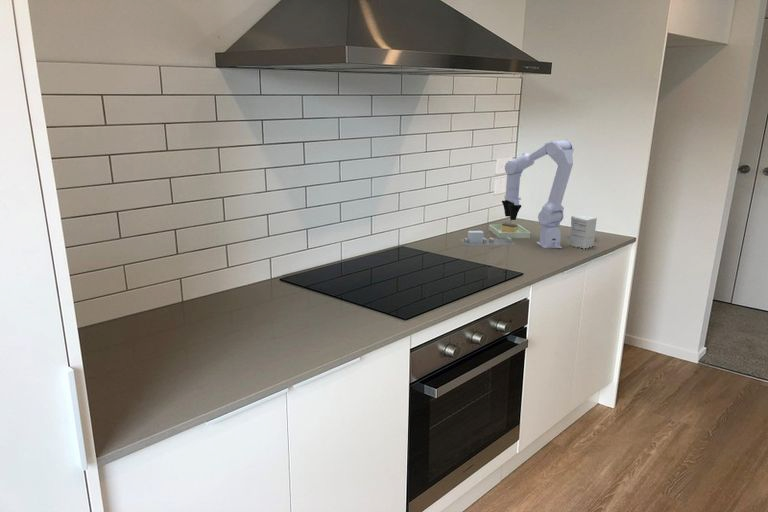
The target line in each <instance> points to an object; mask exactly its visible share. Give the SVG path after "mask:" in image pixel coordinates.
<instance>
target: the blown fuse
mask: <svg viewBox="0 0 768 512" xmlns="http://www.w3.org/2000/svg"><path fill="white" fill-rule="evenodd" d="M501 225H502V232H517V225H518V224H515V223H509V222H503V223H501Z"/></svg>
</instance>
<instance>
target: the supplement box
mask: <svg viewBox="0 0 768 512" xmlns="http://www.w3.org/2000/svg"><path fill="white" fill-rule="evenodd" d="M571 217H572V216H571ZM597 221H598V219H597V217H594V216H588V215H583V214H580V215H577V216H574V217H572V227H571V226H570V227H571V230H570V239H569V246H570V245H572V246H571V247H573V246H576V247H575V248H577V247H580V248H579V249H581V248H583V249H582V250H586V249H589V247H590V248H593V247H594V246H595V237H596V228H597V227H596V226H597ZM592 246H593V247H592ZM585 248H586V249H585Z"/></svg>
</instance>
